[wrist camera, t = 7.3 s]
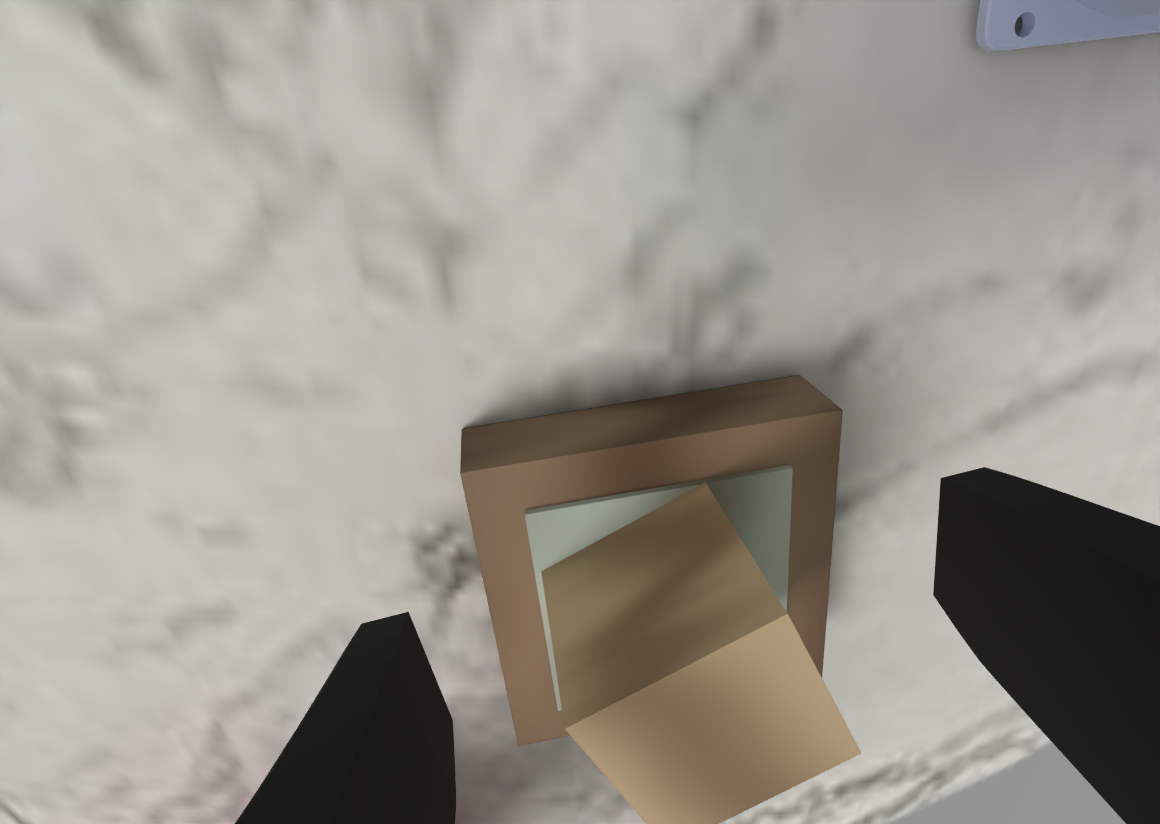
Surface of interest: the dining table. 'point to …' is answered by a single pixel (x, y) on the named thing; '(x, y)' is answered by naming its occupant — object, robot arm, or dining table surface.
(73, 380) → the dining table surface
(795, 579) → the walnut picture frame
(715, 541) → the oak cube
